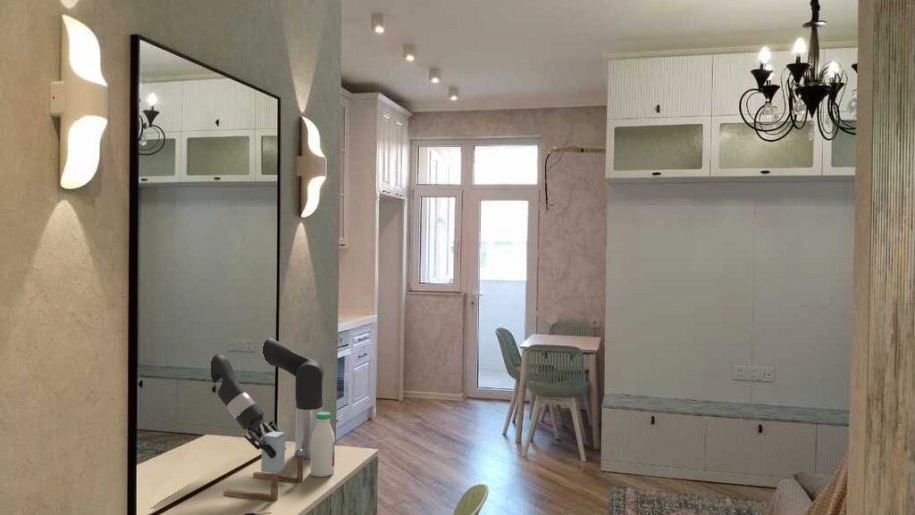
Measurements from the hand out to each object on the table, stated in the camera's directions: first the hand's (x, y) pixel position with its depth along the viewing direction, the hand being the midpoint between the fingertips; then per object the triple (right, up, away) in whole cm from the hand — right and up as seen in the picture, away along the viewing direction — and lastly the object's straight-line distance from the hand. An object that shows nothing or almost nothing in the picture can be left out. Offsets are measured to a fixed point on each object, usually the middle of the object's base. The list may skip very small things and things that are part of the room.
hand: (278, 453), depth 201 cm
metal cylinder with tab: (+5, -3, +8) cm, 10 cm away
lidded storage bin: (-2, -5, +1) cm, 6 cm away
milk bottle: (+10, -11, +16) cm, 22 cm away
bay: (-5, -11, +2) cm, 12 cm away
